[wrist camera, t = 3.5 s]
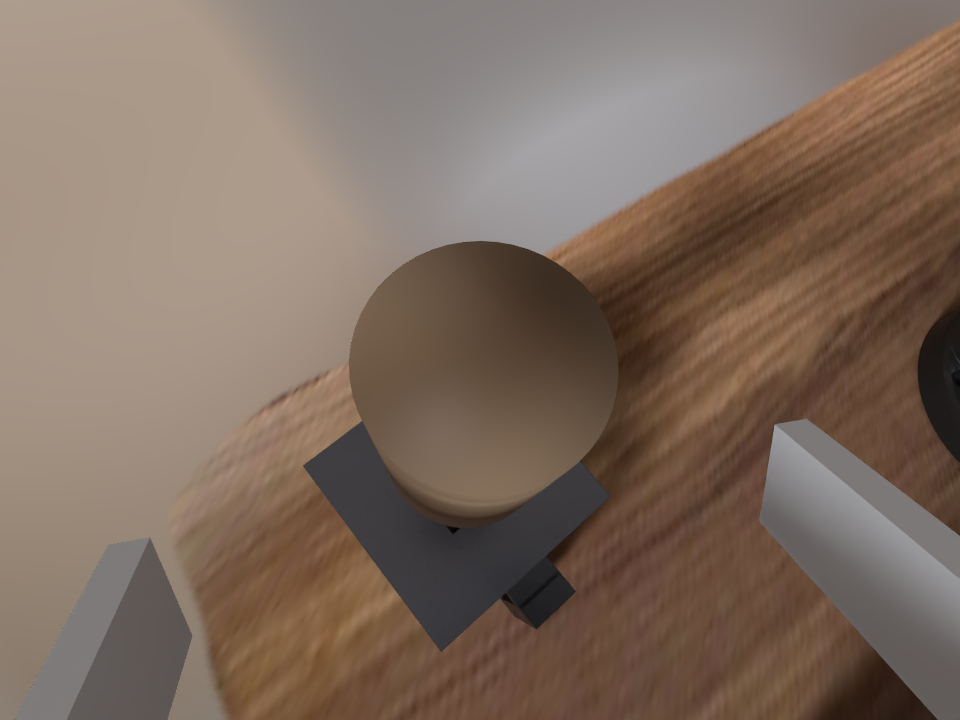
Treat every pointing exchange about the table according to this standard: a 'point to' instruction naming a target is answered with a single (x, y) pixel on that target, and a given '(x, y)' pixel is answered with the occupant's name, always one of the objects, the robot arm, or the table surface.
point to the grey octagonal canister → (455, 541)
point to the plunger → (481, 378)
